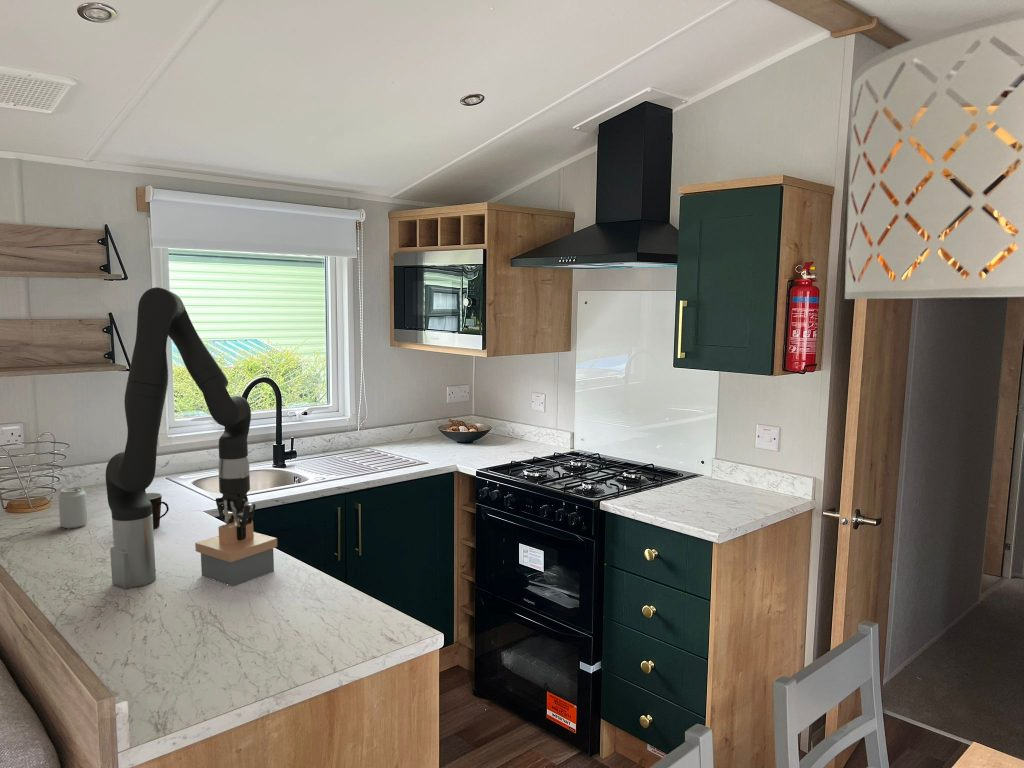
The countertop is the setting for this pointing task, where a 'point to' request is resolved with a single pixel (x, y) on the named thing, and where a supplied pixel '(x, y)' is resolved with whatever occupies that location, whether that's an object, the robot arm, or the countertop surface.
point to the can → (72, 507)
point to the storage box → (237, 568)
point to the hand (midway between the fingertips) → (236, 537)
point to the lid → (235, 543)
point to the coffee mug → (156, 508)
